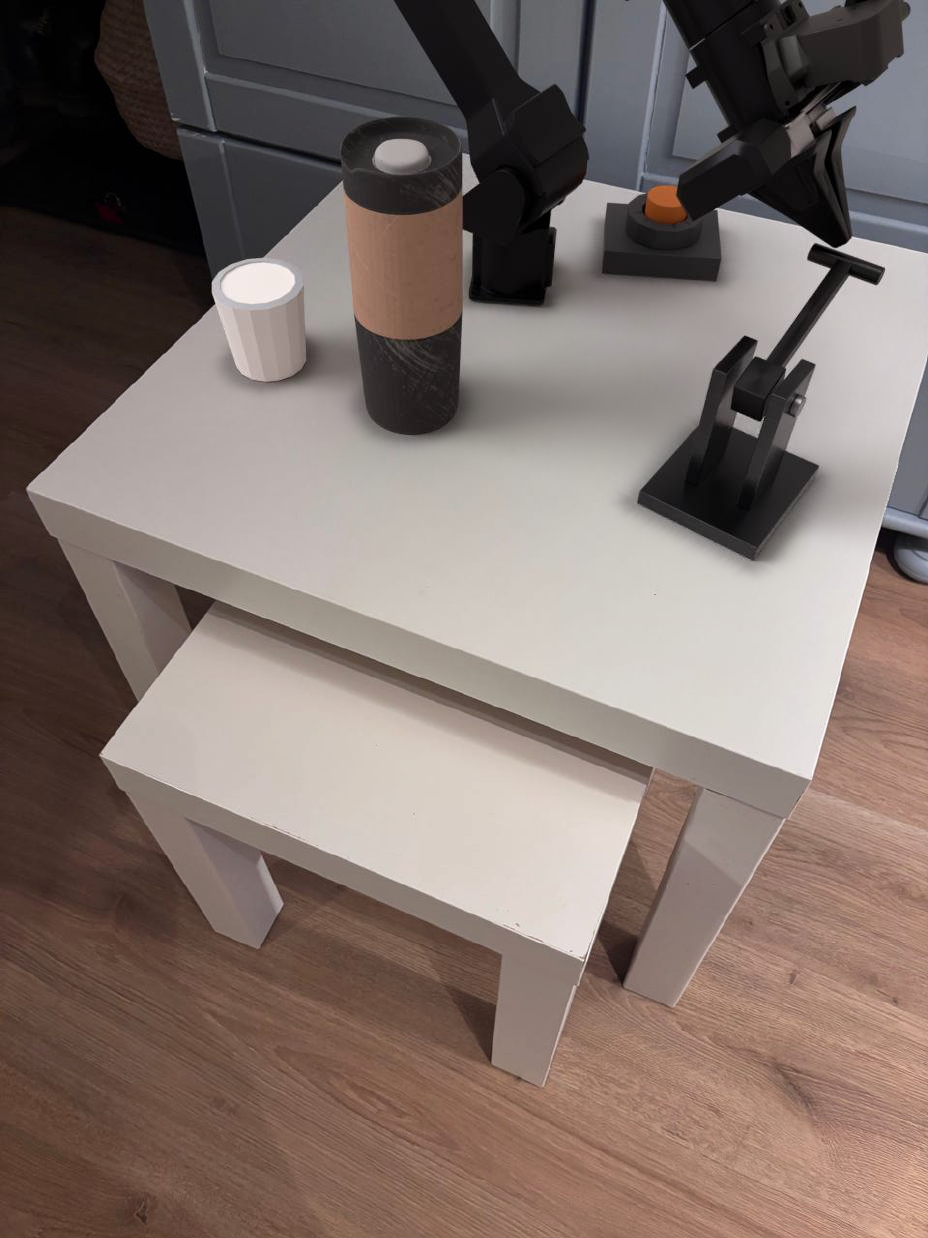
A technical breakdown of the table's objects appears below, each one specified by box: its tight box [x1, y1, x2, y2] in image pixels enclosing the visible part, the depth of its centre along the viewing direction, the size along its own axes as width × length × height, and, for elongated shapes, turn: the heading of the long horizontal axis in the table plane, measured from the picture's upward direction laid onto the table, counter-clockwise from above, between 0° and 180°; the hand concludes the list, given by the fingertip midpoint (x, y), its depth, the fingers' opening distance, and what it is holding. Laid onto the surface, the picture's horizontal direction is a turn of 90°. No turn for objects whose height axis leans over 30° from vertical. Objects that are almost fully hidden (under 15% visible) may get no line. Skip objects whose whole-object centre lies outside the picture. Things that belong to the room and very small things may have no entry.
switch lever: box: [730, 242, 886, 423], centre depth 64 cm, size 14×5×2 cm, turn 143°
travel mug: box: [339, 115, 464, 435], centre depth 67 cm, size 8×8×20 cm
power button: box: [645, 185, 687, 224], centre depth 85 cm, size 4×4×2 cm
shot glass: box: [211, 257, 307, 383], centre depth 76 cm, size 7×7×7 cm
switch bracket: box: [636, 334, 820, 561], centre depth 66 cm, size 10×9×11 cm
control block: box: [601, 192, 723, 282], centre depth 87 cm, size 10×8×4 cm
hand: (843, 243), depth 65 cm, fingers closed
